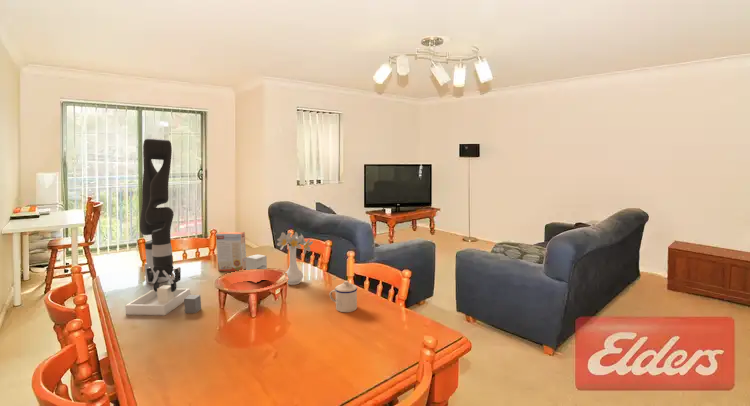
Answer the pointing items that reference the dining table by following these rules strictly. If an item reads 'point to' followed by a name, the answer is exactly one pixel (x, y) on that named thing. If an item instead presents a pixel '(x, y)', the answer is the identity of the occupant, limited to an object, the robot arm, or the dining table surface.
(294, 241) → the flower vase
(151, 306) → the tray
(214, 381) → the dining table surface
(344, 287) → the teacup with lid
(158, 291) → the cream block
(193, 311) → the charcoal block
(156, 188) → the robot arm
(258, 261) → the supplement box
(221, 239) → the cracker box
